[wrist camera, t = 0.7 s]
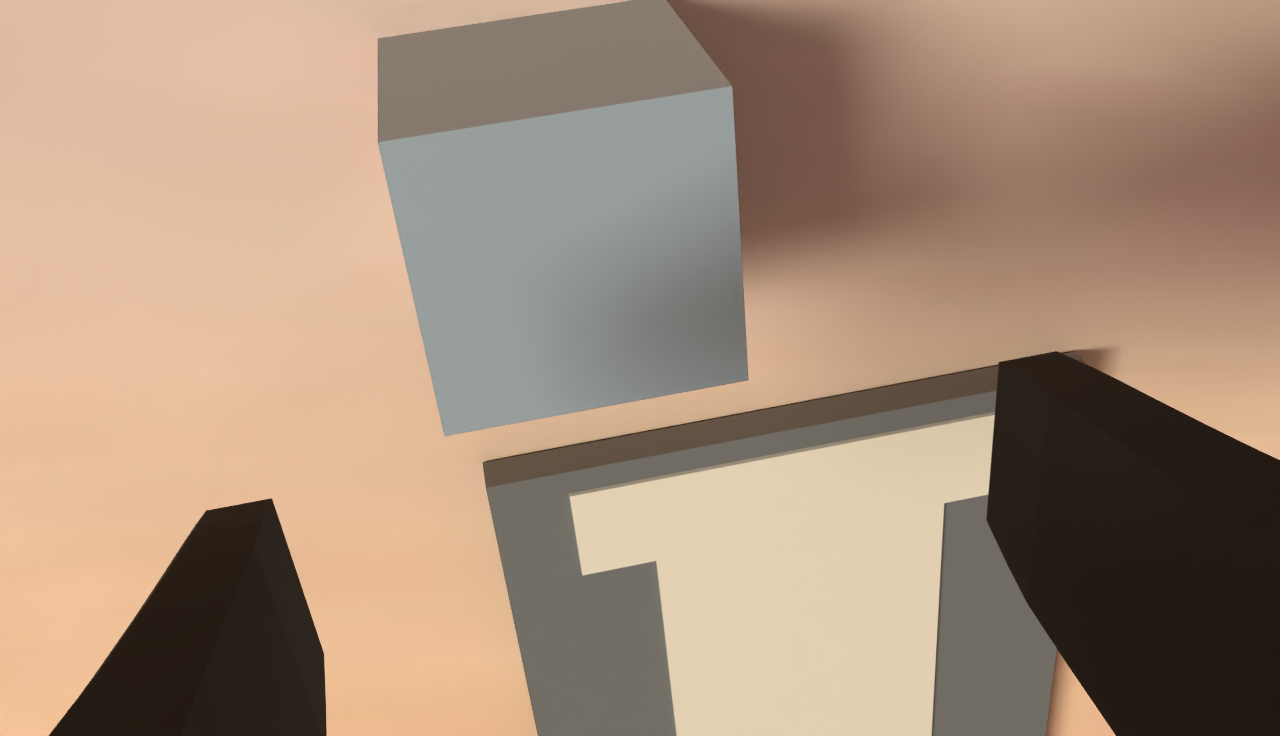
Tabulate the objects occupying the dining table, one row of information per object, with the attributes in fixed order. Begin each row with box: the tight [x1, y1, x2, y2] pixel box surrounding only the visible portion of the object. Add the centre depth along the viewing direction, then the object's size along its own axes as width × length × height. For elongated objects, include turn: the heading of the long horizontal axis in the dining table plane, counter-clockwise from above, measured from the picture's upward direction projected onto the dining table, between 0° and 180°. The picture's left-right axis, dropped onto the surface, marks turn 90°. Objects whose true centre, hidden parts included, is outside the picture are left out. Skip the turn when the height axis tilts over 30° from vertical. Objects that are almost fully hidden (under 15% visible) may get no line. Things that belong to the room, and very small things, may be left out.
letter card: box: [483, 352, 1085, 736], centre depth 27 cm, size 12×14×1 cm
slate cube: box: [378, 0, 748, 436], centre depth 18 cm, size 4×4×4 cm
